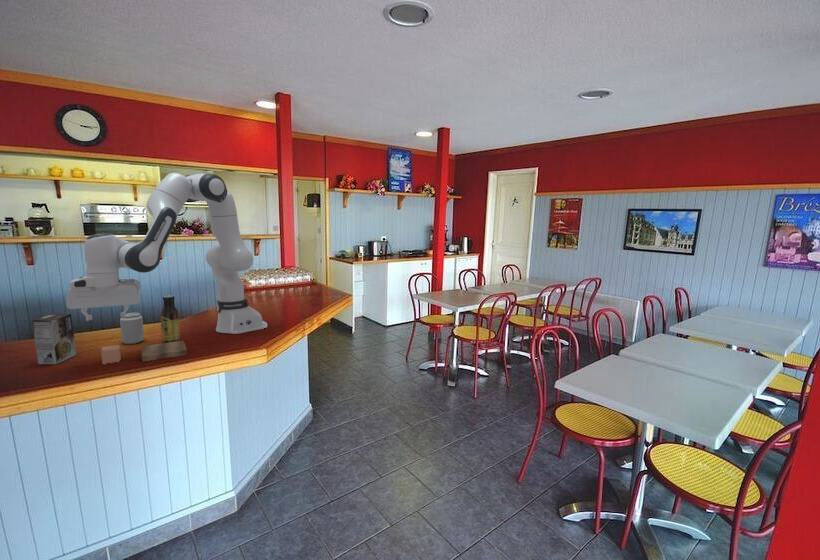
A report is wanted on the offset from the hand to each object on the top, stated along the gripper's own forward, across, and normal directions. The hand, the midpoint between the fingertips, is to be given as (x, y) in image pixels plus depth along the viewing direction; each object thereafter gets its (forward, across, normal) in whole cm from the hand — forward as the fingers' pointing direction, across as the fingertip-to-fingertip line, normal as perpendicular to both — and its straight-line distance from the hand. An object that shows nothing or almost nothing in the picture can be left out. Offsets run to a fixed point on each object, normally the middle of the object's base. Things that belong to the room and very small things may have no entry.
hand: (106, 318), depth 134 cm
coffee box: (+16, +16, -11) cm, 25 cm away
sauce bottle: (+16, -20, -13) cm, 28 cm away
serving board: (+16, -16, 0) cm, 23 cm away
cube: (+16, 0, 0) cm, 16 cm away
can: (+16, -6, -21) cm, 27 cm away
